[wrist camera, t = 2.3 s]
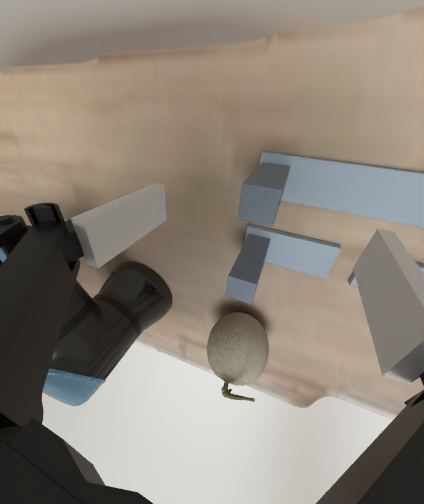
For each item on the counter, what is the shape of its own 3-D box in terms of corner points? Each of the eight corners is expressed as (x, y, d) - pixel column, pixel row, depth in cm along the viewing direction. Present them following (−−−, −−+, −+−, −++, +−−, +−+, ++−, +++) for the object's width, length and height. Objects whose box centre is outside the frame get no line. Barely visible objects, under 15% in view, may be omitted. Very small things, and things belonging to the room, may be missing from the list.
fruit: (220, 332, 45) (190, 407, 34) (220, 294, 39) (183, 369, 27) (268, 348, 42) (253, 436, 30) (276, 309, 36) (261, 401, 24)
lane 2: (243, 252, 32) (220, 300, 24) (248, 223, 29) (224, 266, 21) (325, 274, 29) (332, 339, 20) (340, 244, 26) (356, 306, 18)
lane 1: (254, 192, 27) (230, 227, 18) (263, 151, 24) (238, 168, 15) (572, 253, 19) (792, 364, 10) (640, 201, 16) (1019, 295, 8)
